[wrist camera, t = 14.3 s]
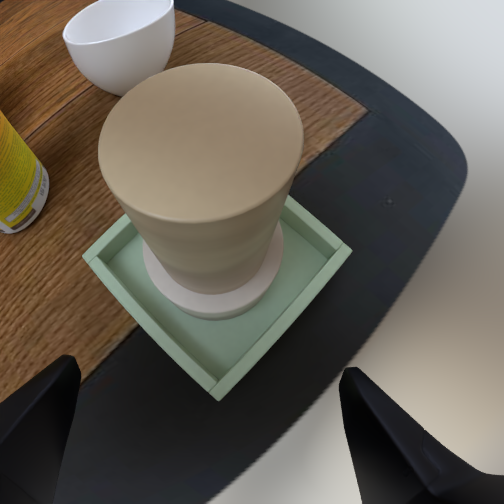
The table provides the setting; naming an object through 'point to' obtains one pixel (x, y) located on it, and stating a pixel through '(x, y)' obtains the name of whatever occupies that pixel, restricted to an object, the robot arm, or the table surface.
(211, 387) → the mint green tray
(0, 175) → the supplement bottle
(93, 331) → the table surface
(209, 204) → the tan cylindrical piece
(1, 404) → the robot arm
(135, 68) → the cup
